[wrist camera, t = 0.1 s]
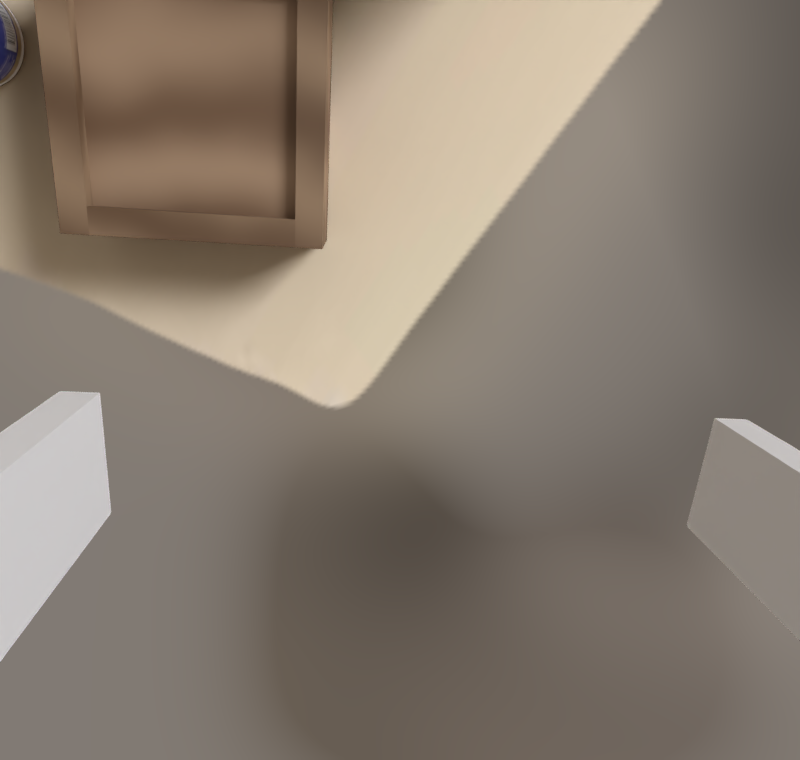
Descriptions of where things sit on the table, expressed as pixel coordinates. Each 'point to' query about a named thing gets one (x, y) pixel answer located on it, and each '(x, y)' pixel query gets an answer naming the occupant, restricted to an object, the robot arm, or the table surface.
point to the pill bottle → (9, 44)
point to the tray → (189, 118)
